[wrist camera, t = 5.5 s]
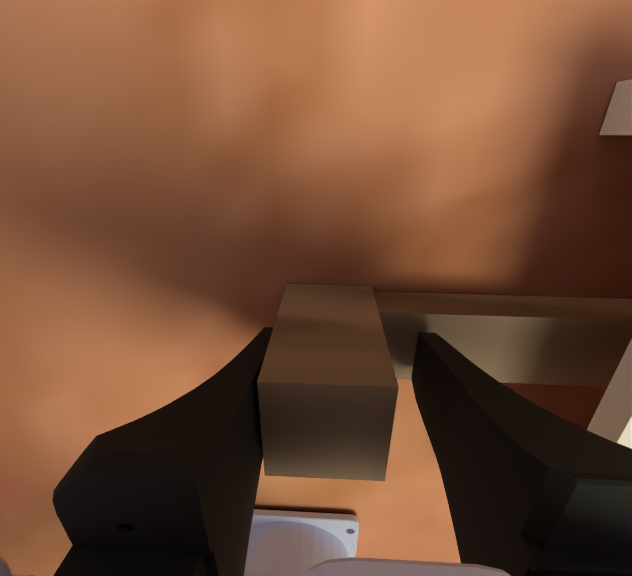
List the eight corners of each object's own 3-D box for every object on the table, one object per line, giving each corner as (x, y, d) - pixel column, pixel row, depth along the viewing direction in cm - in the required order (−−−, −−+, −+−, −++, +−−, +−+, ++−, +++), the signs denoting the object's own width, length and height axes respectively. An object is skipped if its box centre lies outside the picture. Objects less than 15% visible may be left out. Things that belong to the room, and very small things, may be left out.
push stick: (678, 366, 15) (886, 504, 9) (288, 353, 15) (265, 475, 10) (720, 295, 13) (998, 409, 8) (286, 283, 14) (257, 381, 8)
